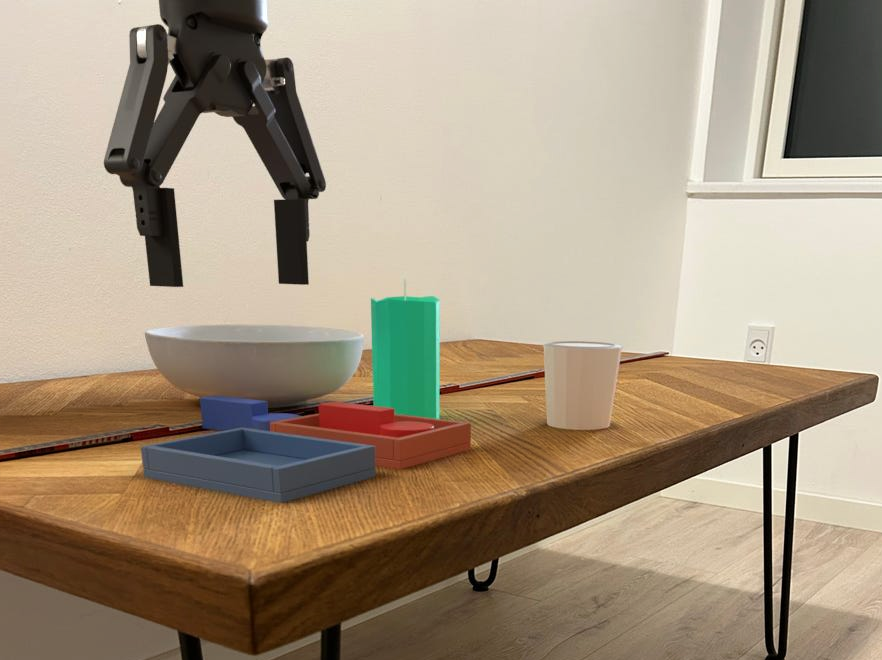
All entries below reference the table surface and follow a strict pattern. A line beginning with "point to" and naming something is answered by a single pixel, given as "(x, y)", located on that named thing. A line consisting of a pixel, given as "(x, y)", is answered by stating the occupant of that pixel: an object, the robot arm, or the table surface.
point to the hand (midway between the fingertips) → (234, 285)
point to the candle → (406, 354)
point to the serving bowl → (256, 360)
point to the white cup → (580, 383)
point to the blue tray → (259, 463)
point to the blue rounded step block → (237, 413)
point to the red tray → (391, 439)
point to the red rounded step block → (367, 420)
